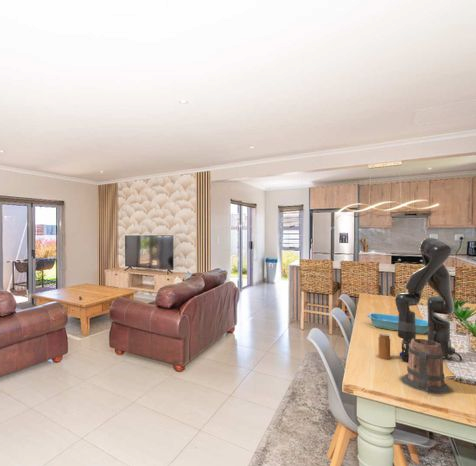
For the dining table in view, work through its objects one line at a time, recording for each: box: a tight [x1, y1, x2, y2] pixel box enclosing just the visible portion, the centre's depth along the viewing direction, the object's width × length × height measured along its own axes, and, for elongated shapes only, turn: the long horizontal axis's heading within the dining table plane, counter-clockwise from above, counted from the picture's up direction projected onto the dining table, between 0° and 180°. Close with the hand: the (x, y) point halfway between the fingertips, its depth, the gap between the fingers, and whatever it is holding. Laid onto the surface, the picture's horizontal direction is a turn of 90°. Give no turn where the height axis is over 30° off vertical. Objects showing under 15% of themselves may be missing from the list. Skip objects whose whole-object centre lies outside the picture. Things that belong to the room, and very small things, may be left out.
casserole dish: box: [366, 312, 428, 335], centre depth 236 cm, size 37×22×7 cm, turn 54°
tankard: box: [401, 338, 452, 394], centre depth 152 cm, size 24×17×20 cm
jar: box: [378, 332, 391, 360], centre depth 185 cm, size 5×5×13 cm
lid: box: [399, 351, 409, 360], centre depth 182 cm, size 6×6×2 cm
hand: (406, 359), depth 182 cm, fingers closed on lid, 5 cm apart
